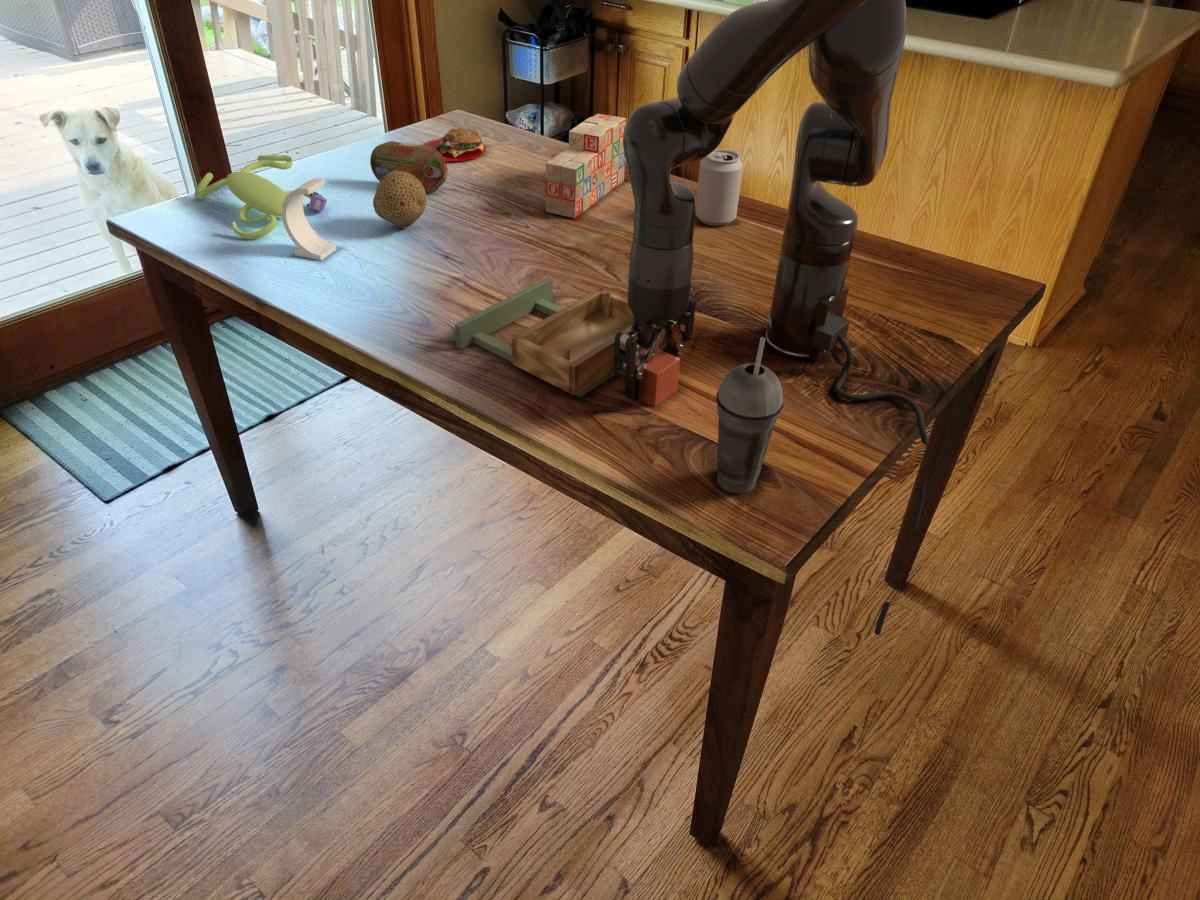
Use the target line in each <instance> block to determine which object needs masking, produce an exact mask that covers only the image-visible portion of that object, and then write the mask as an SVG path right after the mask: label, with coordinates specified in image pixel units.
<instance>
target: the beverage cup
mask: <svg viewBox="0 0 1200 900" xmlns="http://www.w3.org/2000/svg"><path fill="white" fill-rule="evenodd" d="M765 343H766V340H765V337H764V336H761V337H760V339H759V343H758V348H757V353H756V358H755V363H753V362H751V363H743V364H740V365H738V366H736V367H734V368H732V369H731V370H729V372H727V374H725V377H724V378H723V379H722V381H721V383H720V385H719V387H718V390H717V392H716V395H715V396H716V397H715V401H716V409H717V416H718V431H717V454H716V455H717V456H716V482H717V484H718V485H719V487H721V489H723V490H725V491H726V492H729V493H731V494H746V493H747V494H748V492H751V491H753V490H754V488H755V487H756V483H757V481H758V479H759V476H760V473H761V470H762V467H763V463H764V460H765V457H766V454H767V450H768V447H769V444H770V440H771V437H772V434H773V431H774V427H775V424H776V423H777V421H778V419H779V416H780V414H781V413H782V410H783V409H784V395H783V386H782V383H781V381H780V380H779V378H778V376H777V375H776V374H775V373H774V372H773V370H771V369H770V368H769V367H767V366H765V365H763V364H761V361H762V357H763V352H764V348H765Z"/></svg>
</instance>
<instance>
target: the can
mask: <svg viewBox="0 0 1200 900" xmlns="http://www.w3.org/2000/svg"><path fill="white" fill-rule="evenodd" d="M743 169H744V164H743V162H742V161H741V155H740V153H738V152H736V151H735V150H731V149H726V148H716V149H715V150H714V151H713V152H712V153H710V154H709V155H708V156H706V157H705V158H703V159H702V160H700V161H699V171H698V182H697V191H696V215H695V217H697V218H698V220H699V221H700V222H701V223H703V224H705V225H708V226H714V227H716V226H717V227H723V226H726V225H729V224H730V223H732V222H733V221H734V220H735V219H736V218H737V215H738V207H739V199H740V191H741V185H742V183H741V182H742V177H743Z"/></svg>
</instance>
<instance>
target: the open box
mask: <svg viewBox="0 0 1200 900" xmlns="http://www.w3.org/2000/svg"><path fill="white" fill-rule="evenodd" d="M563 308H564V309H562V310H560V311H558V312H556V313H555V314H553V315H551V316H550V315H548V316H547V317H545V318H544V319H542V320H540V321H539V322H537V323H535V324H533V325H532V326H531V325H530V326H529V327H527V328H526V329H524V330H522V331H520V332H518V333H516V334H515V335H513V336H511V337H510V339H511V340H510V341H511V347H512V362H511V363H512V365H513V366H514V367H517V368H519V369H521V370H523V371H525V372H527V373H529V374H530V375H532V376H534V377H537V378H539V379H540V380H543V381H545V382H546V383H548V384H550V385H553V386H554V387H556V388H558V389H561V390H562V391H564V392H566V393H568V394H571V395H572V396H577V395H576V394H577V393H579V392H580V391H582V390H583V389H585V388H586V387H588V386H590V385H591V384H593V383H594V382H596V381H597V380H599V379H600V378H602V377H603V376H605V375H606V374H608V373H609V372H611V371H612V370H614V348H615V336H616V334H617V333H618V332H622V333H624V334H626V333H628V332H629V331H631V327H632V324H633V321H634V315H633V313H632V312H631V310H630V308H629V306H628V298H626V297H624V296H620V295H618V294H616V293H613V292H612V291H610V290H607V289H604V288H602V287H600V288H598V289H596V290H594V291H593V292H591V293H589V294H587V295H586V296H584V297H582V298H580V299H578V300H577V301H575V302H573V303H571V304H569V305H567V306H566V307H563ZM637 346H638V349H637V351H638V352H640V351H641V350H643V348H641V347H640V346H639V345H638V344H637Z"/></svg>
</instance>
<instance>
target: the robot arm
mask: <svg viewBox="0 0 1200 900" xmlns="http://www.w3.org/2000/svg"><path fill="white" fill-rule="evenodd" d="M907 19H908V18H907V2H906V0H764V1H759V2H755V3H751V4H748V5H745V6H743V7H740V8H738V9H736V10H734V11H732V12H731V13H729V14H727V15H726V16H725V17H724V18H723V19H722V20H720V21H719V22H718V23H717V24H716V25H715V27H713V28H712V30H711V31H710V32H709V33H708V34H707V36H706V37H705V38H704V39H703V41H702V42H701V43H700V44H699V45H698V47H697V48H696V50H695V51H694V52H693V53H692V55H691V56H690V57H689V58H688V59H687V61H686V63H685V64H684V65H683V67H682V69H680V72H679V74H678V77H677V81H676V93H677V97H673V98H668V99H664V100H663V99H662V100H659V101H654V102H649V103H644V104H642V105H639V106H637V107H636V108H635V109H634V110H633V111H632V112H631V113H630V115H629V116H628V118H627V121H626V125H625V129H624V133H623V149H624V154H625V164H626V167H627V172H628V177H629V181H630V186H631V191H632V196H633V200H634V215H633V232H632V242H631V246H630V253H629V268H628V285H627V299H628V306H629V308H630V310H631V312H632V313H633V315H634V321H633V324H632V327H631V331H629V332H628V333H626V334H624V333H622V332H618V333H617V334H616V336H615V348H614V371H613V372H614V374H615V375H616V376H618V377H620V378H622V379H624V386H623V394H624V396H625V398H626V399H628V400H631V401H633V402H635V403H638V402H639V401H642V400H641V398H642V385H643V377H642V376H643V373H644V371H645V368H646V366H647V364H648V363H651V362H652V361H653V358H654V356H655V354H656V351H657V350H658V349H660V348H661V347H662V351H664V352H666V353H669V354H671V355H673V356H675V357H678V358H680V356H681V352H682V351H683V349H684V347H685V343H686V342H688V343H689V342H691V340H692V338H693V334H694V333H693V332H694V323H695V315H696V305H697V302H696V300H692V299H691V298H690V296H691V295H690V294H691V285H692V277H693V274H692V273H693V267H694V266H693V265H694V234H695V233H694V232H695V223H696V222H695V221H696V200H697V196H696V194H695V192H694V191H693V190H692V188H690V187H689V186H688V185H686V184H684V183H680V182H676V181H671V171H672V169H675V168H680V167H683V166H687V165H690V164H694V163H697V162H700V161H701V160H702V159H703V158H705V157H706V156H708V155H709V154H710V153H712V152H713V151H714V150H715V149H718V147H719V145H720V144H721V143H722V141H723V140H724V138H725V136H726V134H727V132H728V130H729V129H730V127H731V126H732V125H731V124H732V123H733V121H734V118H735V116H736V113H738V112H739V111H740V110H741V109H742V108H743V106H745V105H746V104H747V102H749V100H751V98H752V97H753V96H754V95H755V94H756V93H757V92H758V91H759V90H760V89H761V88H762V87H763V85H765V84H766V83H767V81H768V80H769V79H771V77H772V76H773V75H775V74H776V72H777V71H779V70H780V69H781V68H782V67H783V66H784V65H785V64H786V63H787V62H789V60H791V59H792V58H793V57H794V56H796V55H797V54H798V53H800V52H801V51H803V50H804V49H806V48H807V47H808V51H807V52H808V53H807V54H808V57H807V58H808V59H807V60H808V61H807V62H808V73H809V76H810V80H811V83H812V85H813V87H814V89H815V91H816V92H817V94H818V95H819V97H820V98H821V99H822V100H823V101H824V102H823V101H816V102H812V103H811V104H809V106H807V107H806V108H805V111H804V113H803V115H802V117H801V120H800V122H799V126H798V127H799V128H798V130H797V136H796V141H795V142H796V143H795V151H794V159H793V160H794V161H793V169H792V179H791V187H790V194H789V198H788V199H789V200H788V206H787V211H786V217H785V223H784V228H783V233H782V240H781V245H780V252H779V257H778V263H777V269H776V275H775V282H774V288H773V293H772V299H771V305H770V310H769V311H768V313H767V320H768V322H767V327H766V332H765V337H764V338H765V343H766V345H767V346H768V347H769V349H771V350H772V351H774V352H776V353H777V354H780V355H782V356H784V357H787V358H792V359H797V360H810V361H812V362H818V361H820V360H821V359H822V358H823V357H824V356H825V355H827V354H828V353H829V352H830V351H831V350H832V349H834V348H835V347H836V346H837V345H838V344H839V345H840V346H841V348H842V349H843V351H844V353H845V363H844V364H843V366H842V367H841V371H840V375H839V377H838V379H837V381H836V382H835V384H834V386H833V391H834V393H835V394H836V395H837V396H838V397H840V398H841V399H844V400H847V401H850V402H851V401H852V402H862V401H870V400H875V399H881V398H889V399H895V400H897V401H900V402H902V403H904V404H905V405H907V406H909V407H910V408H911V409H912V411H913V412H914V416H915V418H916V423H917V428H918V433H919V437H920V441H921V443H922V445H926V446H927V445H929V444H930V443H929V438H928V433H927V429H926V425H925V419H924V416H923V415H924V414H923V411H922V409H921V406H919V404H918V403H917V402H916V401H914V400H913V399H911V398H909V397H908V396H907V395H904V394H903V393H899V392H896V391H889V390H883V391H875V392H870V393H864V394H851V393H848V392H846V391H844V390H843V389H841V388H842V386H843V385H844V382H845V380H846V378H847V374H848V372H849V370H850V368H851V366H852V363H853V352H852V349H851V346H850V345H849V343H848V342H847V340H846V338H847V335H848V331H849V326H850V323H851V320H849V319H847V318H844V317H843V316H844V312H845V308H846V304H847V300H848V294H849V290H850V288H849V286H848V285H846V284H845V282H846V279H847V273H848V270H849V265H850V261H851V255H852V252H853V247H854V243H855V239H856V233H857V230H858V225H859V216H858V213H857V211H856V210H855V209H854V208H853V207H852V206H851V205H850V204H848V203H846V202H844V201H843V200H841V199H840V198H838V197H836V196H834V195H833V194H831V193H830V192H829V191H828V190H827V189H826V188H825V187H824V185H822V183H827V184H833V185H838V186H846V187H853V188H855V187H857V188H858V187H866V186H868V185H869V184H871V183H872V182H873V181H874V180H875V179H877V177H878V176H879V174H880V172H881V170H882V168H883V165H884V163H885V159H886V156H887V152H888V147H889V139H890V138H889V137H890V130H891V129H890V128H891V113H892V101H893V95H894V90H895V86H896V83H897V78H898V74H899V70H900V66H901V62H902V57H903V53H904V47H905V41H906V34H907ZM682 325H683V326H684V329H682V328H681V327H682ZM637 344H638V345H639V346H640V347H641V348H643V349H645V350H648V351H647V353H646V354H643V353H640V352H638V351H637V349H638V346H637ZM636 358H638V359H640V362H639V365H638V367H637V368H635V362H636ZM623 363H624V366H622V365H623ZM927 481H928V478H926V479H925V480H924V482H923V483H922V484H921V485H920V486H919V488H918V489H917V494H916V495H917V496H916V499H915V507H914V511H913V515H912V519H911V522H912V524H913V526H914V528H915V531H917V530H918V527H919V522H920V519H921V514H922V509H923V506H924V499H925V494H926V487H927ZM890 606H891V601H884V602H883V605H882V608H881V610H880V613H879V616H878V619H877V622H876V625H875V628H874V634H875V635H876V636H880V635H881V633H882V630H883V626H884V623H885V620H886V617H887V614H888V612H889V608H890Z"/></svg>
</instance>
